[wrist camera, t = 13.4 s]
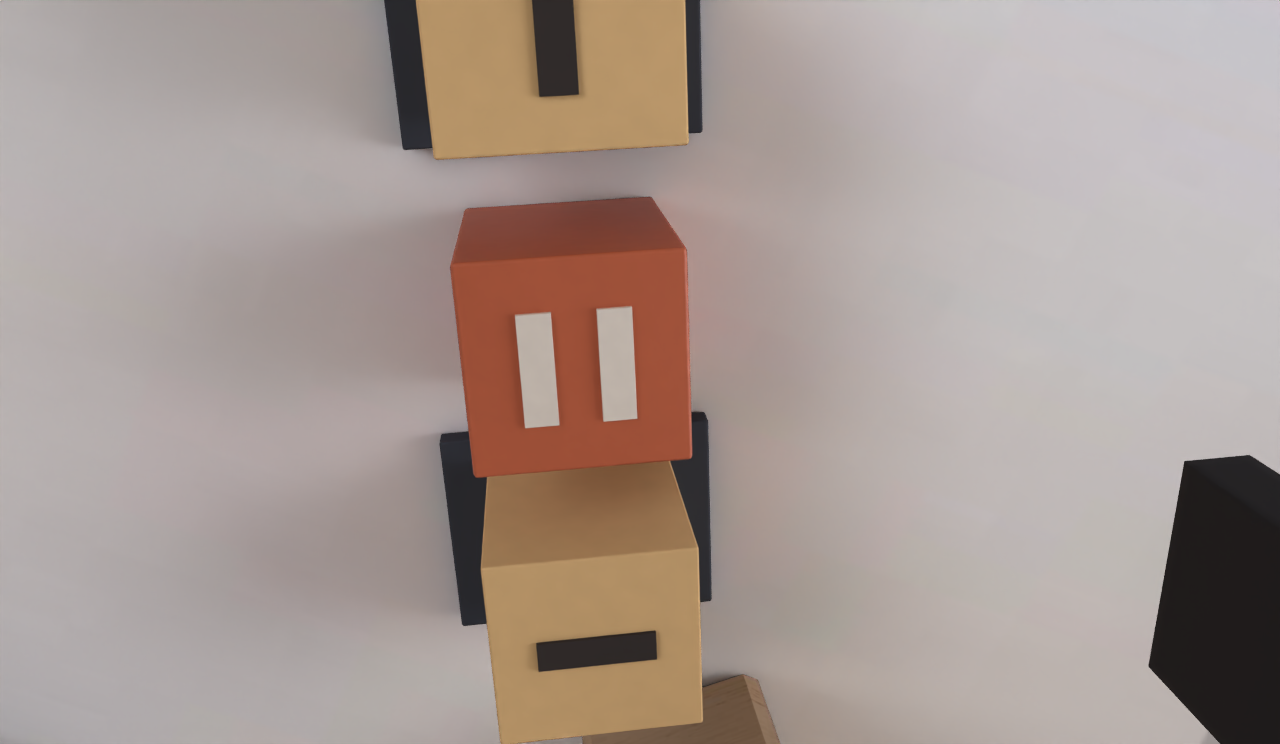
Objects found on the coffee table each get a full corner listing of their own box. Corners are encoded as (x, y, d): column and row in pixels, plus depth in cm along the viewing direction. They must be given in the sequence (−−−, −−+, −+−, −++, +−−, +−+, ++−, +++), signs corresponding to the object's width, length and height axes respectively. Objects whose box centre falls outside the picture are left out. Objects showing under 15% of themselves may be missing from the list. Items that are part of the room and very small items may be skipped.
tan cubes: (372, -117, 21) (319, -161, 16) (693, -128, 22) (755, -173, 16) (463, 614, 28) (448, 773, 22) (708, 590, 29) (755, 738, 23)
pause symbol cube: (464, 208, 24) (448, 265, 19) (652, 195, 24) (688, 248, 19) (483, 384, 26) (473, 482, 20) (659, 370, 26) (694, 462, 21)
